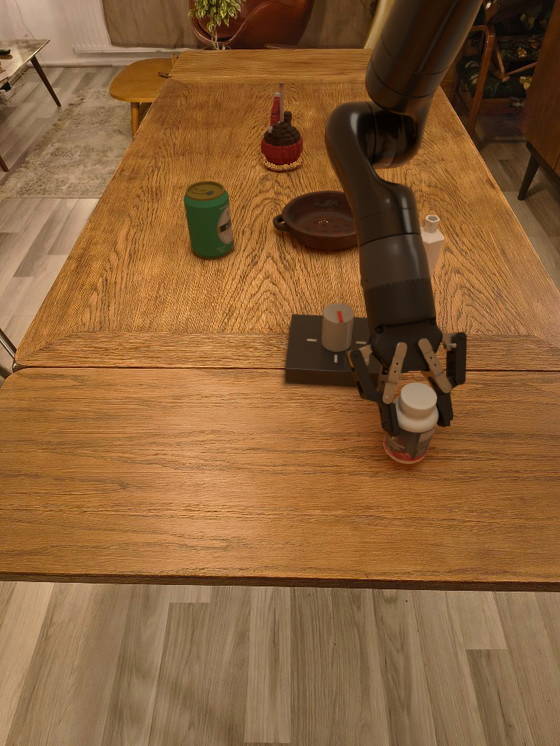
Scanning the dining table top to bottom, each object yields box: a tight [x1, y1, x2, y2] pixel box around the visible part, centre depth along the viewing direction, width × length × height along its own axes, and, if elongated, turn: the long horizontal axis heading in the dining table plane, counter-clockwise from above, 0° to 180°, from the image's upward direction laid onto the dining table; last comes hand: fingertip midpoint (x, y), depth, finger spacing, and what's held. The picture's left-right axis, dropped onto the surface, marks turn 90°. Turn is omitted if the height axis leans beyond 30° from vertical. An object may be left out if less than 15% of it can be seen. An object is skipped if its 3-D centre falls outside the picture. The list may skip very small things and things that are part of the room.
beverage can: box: [182, 180, 234, 260], centre depth 94 cm, size 8×8×12 cm
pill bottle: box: [382, 382, 438, 465], centre depth 60 cm, size 5×5×10 cm
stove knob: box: [321, 302, 355, 352], centre depth 73 cm, size 4×4×6 cm
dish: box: [272, 189, 358, 251], centre depth 100 cm, size 18×22×5 cm
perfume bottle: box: [420, 214, 446, 280], centre depth 81 cm, size 5×4×15 cm
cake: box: [260, 81, 304, 172], centre depth 118 cm, size 11×9×18 cm
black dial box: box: [284, 313, 386, 389], centre depth 76 cm, size 14×12×3 cm
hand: (419, 430), depth 58 cm, fingers closed on pill bottle, 5 cm apart
